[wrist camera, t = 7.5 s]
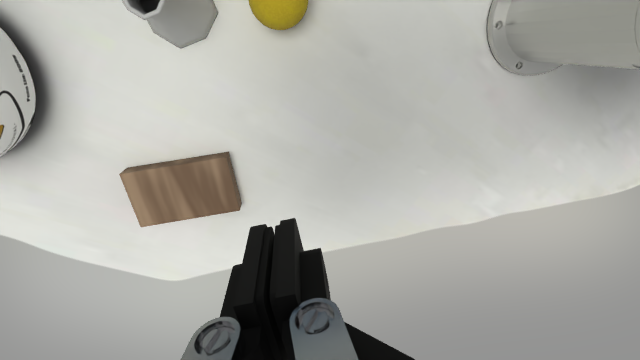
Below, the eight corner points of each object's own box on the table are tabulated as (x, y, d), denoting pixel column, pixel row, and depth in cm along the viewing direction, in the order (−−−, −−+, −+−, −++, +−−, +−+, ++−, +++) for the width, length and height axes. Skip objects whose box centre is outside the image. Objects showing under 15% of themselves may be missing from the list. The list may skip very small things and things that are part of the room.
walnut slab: (226, 157, 38) (119, 174, 37) (239, 210, 40) (140, 227, 40) (229, 150, 40) (128, 166, 39) (241, 201, 43) (148, 217, 42)
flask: (231, 14, 34) (213, 3, 25) (181, 61, 35) (147, 67, 26) (176, -52, 31) (134, -92, 22) (124, 1, 32) (64, -16, 23)
